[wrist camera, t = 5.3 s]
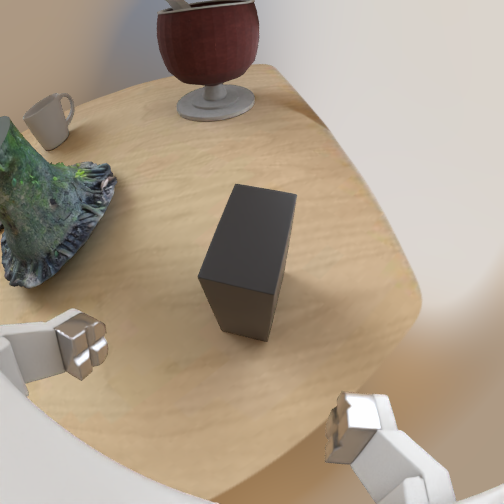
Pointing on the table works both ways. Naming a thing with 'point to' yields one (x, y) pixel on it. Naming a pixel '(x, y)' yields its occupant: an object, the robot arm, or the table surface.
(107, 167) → the tree stump
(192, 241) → the table surface
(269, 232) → the case
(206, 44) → the mate gourd
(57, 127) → the cup
